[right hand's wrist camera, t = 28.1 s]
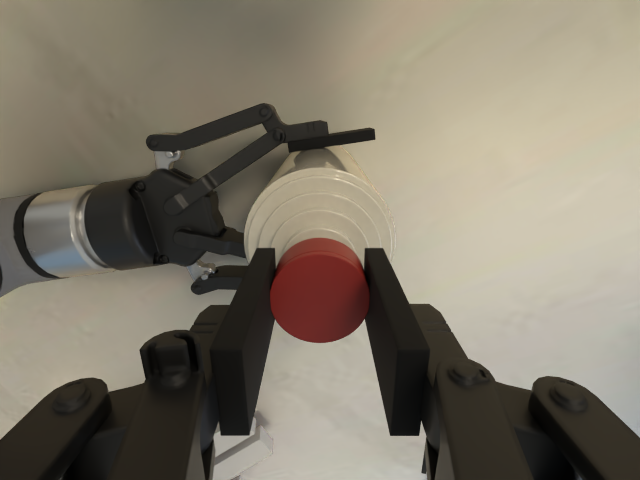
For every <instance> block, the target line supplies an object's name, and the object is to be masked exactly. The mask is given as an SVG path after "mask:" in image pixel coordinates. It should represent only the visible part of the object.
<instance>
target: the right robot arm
mask: <svg viewBox="0 0 640 480" xmlns="http://www.w3.org/2000/svg"><path fill="white" fill-rule="evenodd" d="M275 271H276V258H275V248H256V250H255V253H254V255H253V257H252V259H251V261H250V263H249V265H248V268H247V270H246V272H245V274H244V276H243V278H242V280H241V283H240V285H239V287H238V289H237V291H236V293H235V295H234V298H233V300H232V302H231V304H230V305H210V306H209V307H208V308H206V309H205V310H204V311H202V312H201V313H200V314H199V315H198V317H197V319H196V320H195V322H194V325H192V327H191V329H190V330H189V331H188V330H173V331H169V332H164V333H162V334H159V335H157V336H154V337H153V338H151V339H150V340H148V341H147V342H146V343H144V345H143V346H142V347H141V349H140V355H141V359H142V364H143V369H144V373H145V378H146V380H145V382H144V383H143V384H139V385H136V386H133V387H128V388H124V389H120V390H115V391H111V392H108V388H107V384H106V383H105V382H104V381H103V380H101V379H96V378H84V379H79V380H75V381H72V382H69V383H66V384H65V385H63V386H61V387H59V388H57V389H55V390H53V391H52V392H51V393H50V394H48V395H47V396H46V397H44V398H43V399H42V400H41V401H40V402H39V403H38V404H37V405H36V406H35V407H34V408H33V409H32V410H31V411H30V412H29V413H28V414H27V415H26V416H25V417H23V418H22V419H21V420H20V421H19V422H18V423H17V424H16V425H15V426H14V427H13V428H12V429H11V430H10V431H9V432H8V433H7V434H6V435H5V436H4V437H3V438H2V439H1V440H0V480H213V471H214V461H215V444H214V434H215V431H216V428H217V425H218V422H219V427H220V434H221V436H250V431H251V427H252V422H253V417H254V413H255V408H256V404H257V399H258V394H259V390H260V385H261V380H262V376H263V371H264V367H265V362H266V357H267V353H268V348H269V344H270V339H271V334H272V330H273V325H274V321H275V318H274V316H273V314H272V311H271V303H270V289H271V285H272V281H273V278H274V274H275ZM364 272H365V276H366V279H367V283H368V287H369V291H370V298H369V310H368V313H367V315H366V317H365V322H366V326H367V331H368V336H369V340H370V345H371V349H372V354H373V359H374V363H375V368H376V372H377V377H378V382H379V386H380V391H381V395H382V400H383V405H384V409H385V414H386V418H387V423H388V428H389V432H390V436H419V433H420V425H421V421H422V424H423V427H424V430H425V433H426V436H427V437H426V444H425V451H424V458H423V465H422V473H424V474H426V471H427V480H640V438H639V437H638V436H637V435H636V434H635V433H634V432H633V431H632V430H631V429H630V428H629V427H628V426H627V425H626V424H625V423H624V422H623V421H622V420H621V419H620V418H619V417H618V416H616V415H615V414H614V413H613V412H612V411H611V410H610V409H609V408H608V407H607V406H606V405H605V404H604V403H603V402H602V401H601V400H600V399H599V398H598V397H597V396H595V395H594V394H593V393H591V392H590V391H589V390H588V389H586V388H585V387H583V386H581V385H579V384H577V383H575V382H573V381H570V380H567V379H563V378H560V377H551V376H546V377H541V378H538V379H537V380H536V381H535V382H534V383H533V387H532V391H531V390H527V389H522V388H518V387H514V386H509V385H505V384H502V383H499V382H496V381H495V379H494V377H493V376H492V374H491V373H490V371H489V370H487V369H486V368H485V367H483V366H482V365H481V364H479V363H477V362H475V361H472V360H470V359H468V358H467V356H466V354H465V353H464V351H463V349H462V348H461V346H460V344H459V343H458V341H457V339H456V338H455V336H454V334H453V333H452V332H451V329H450V328H449V326H448V324H446V321H445V319H444V318H443V316H442V314H441V313H440V312H439V311H438V310H436V309H435V308H434V307H432V306H431V305H430V304H409V302H408V300H407V298H406V296H405V294H404V292H403V290H402V287H401V285H400V283H399V281H398V279H397V277H396V275H395V272H394V270H393V268H392V266H391V264H390V262H389V260H388V257H387V255H386V253H385V251H384V249H383V248H365V253H364Z"/></svg>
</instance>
